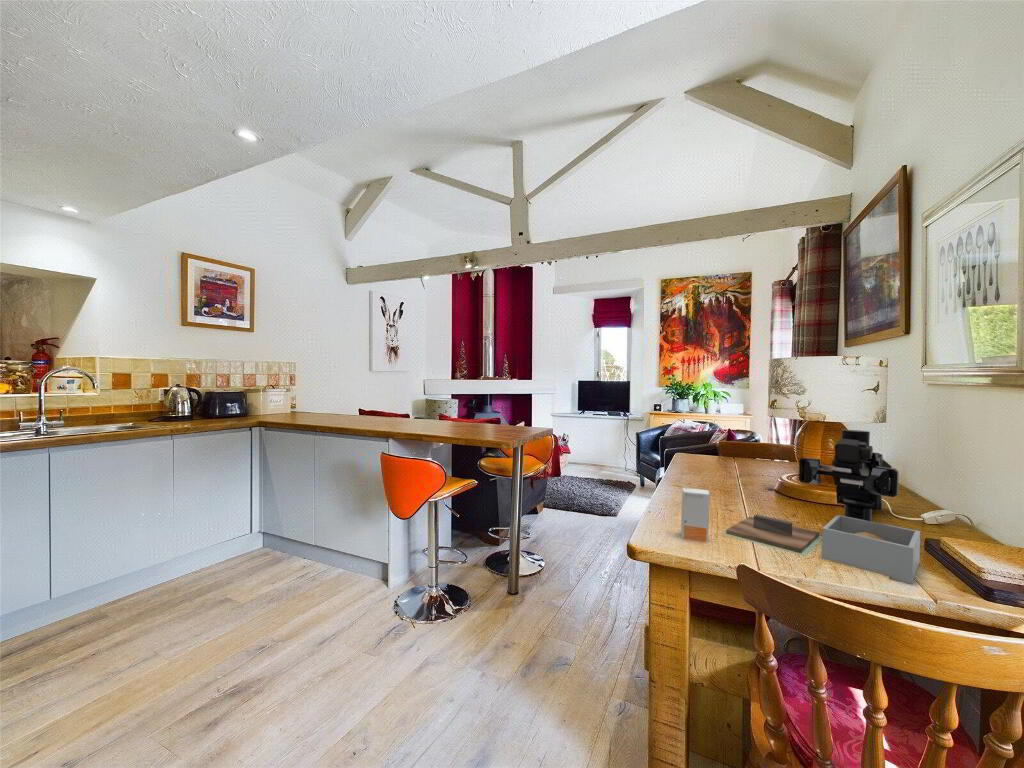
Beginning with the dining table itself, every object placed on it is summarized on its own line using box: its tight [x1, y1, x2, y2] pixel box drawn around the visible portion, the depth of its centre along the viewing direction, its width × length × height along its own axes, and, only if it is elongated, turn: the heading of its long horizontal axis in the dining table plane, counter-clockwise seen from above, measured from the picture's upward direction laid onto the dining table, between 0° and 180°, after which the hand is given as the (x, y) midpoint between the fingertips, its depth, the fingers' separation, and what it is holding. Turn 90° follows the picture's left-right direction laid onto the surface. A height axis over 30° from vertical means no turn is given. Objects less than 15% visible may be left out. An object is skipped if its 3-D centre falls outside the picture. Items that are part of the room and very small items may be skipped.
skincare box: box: [680, 487, 710, 543], centre depth 105 cm, size 6×4×12 cm
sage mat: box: [720, 530, 822, 557], centre depth 108 cm, size 18×18×1 cm
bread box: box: [821, 514, 921, 585], centre depth 94 cm, size 15×15×7 cm
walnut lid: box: [726, 514, 820, 553], centre depth 108 cm, size 16×16×4 cm
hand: (838, 480), depth 98 cm, fingers open, 9 cm apart
